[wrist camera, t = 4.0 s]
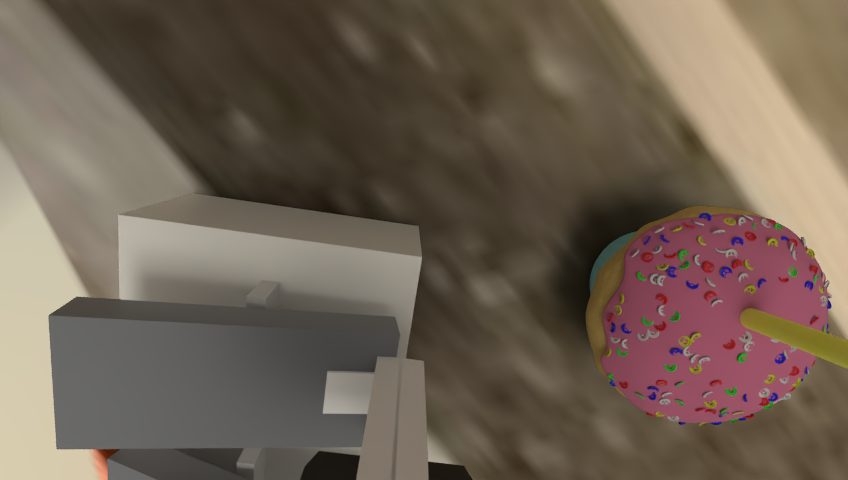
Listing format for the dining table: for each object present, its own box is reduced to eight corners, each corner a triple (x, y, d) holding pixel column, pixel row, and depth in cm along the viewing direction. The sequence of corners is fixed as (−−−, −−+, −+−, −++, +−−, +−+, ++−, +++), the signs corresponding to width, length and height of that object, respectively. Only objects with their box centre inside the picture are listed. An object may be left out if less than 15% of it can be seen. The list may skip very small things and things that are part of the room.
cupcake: (535, 221, 19) (724, 353, 8) (715, 166, 19) (1192, 216, 8) (573, 378, 22) (767, 665, 10) (736, 330, 21) (1134, 569, 10)
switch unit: (187, 192, 18) (76, 222, 12) (418, 226, 19) (423, 269, 13) (179, 549, 23) (96, 701, 17) (365, 565, 24) (350, 715, 18)
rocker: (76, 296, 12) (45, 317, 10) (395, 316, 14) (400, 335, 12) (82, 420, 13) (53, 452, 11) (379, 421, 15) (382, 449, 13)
